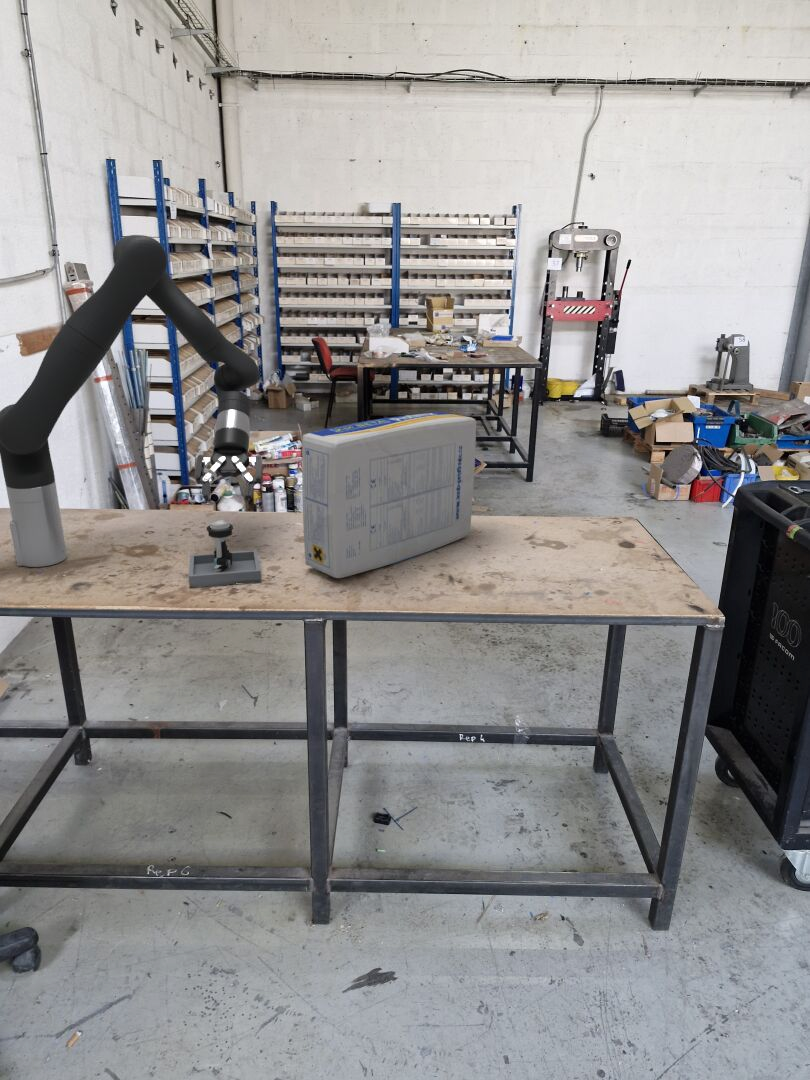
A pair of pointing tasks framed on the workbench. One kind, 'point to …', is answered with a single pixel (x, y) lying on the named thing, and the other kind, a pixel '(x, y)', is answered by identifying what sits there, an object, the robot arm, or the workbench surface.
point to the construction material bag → (386, 490)
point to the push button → (221, 543)
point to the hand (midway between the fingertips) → (227, 499)
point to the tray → (239, 572)
